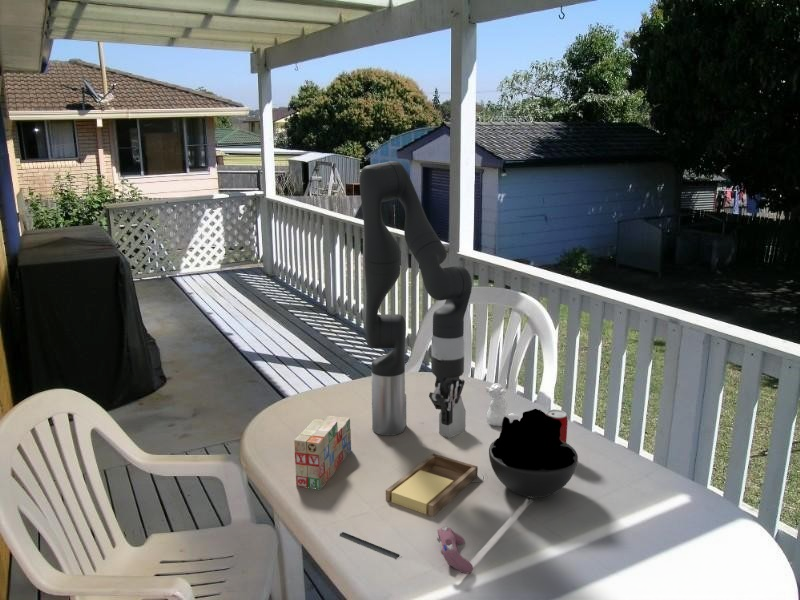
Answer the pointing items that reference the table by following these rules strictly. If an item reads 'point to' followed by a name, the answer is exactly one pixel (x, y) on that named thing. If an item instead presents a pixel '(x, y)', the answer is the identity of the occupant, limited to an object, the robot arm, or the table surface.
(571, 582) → the table surface
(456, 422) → the grey gabled house block
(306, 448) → the stack of blocks
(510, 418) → the sitting furry creature
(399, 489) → the cover plate
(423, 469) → the walnut box
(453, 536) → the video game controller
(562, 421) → the soda can
